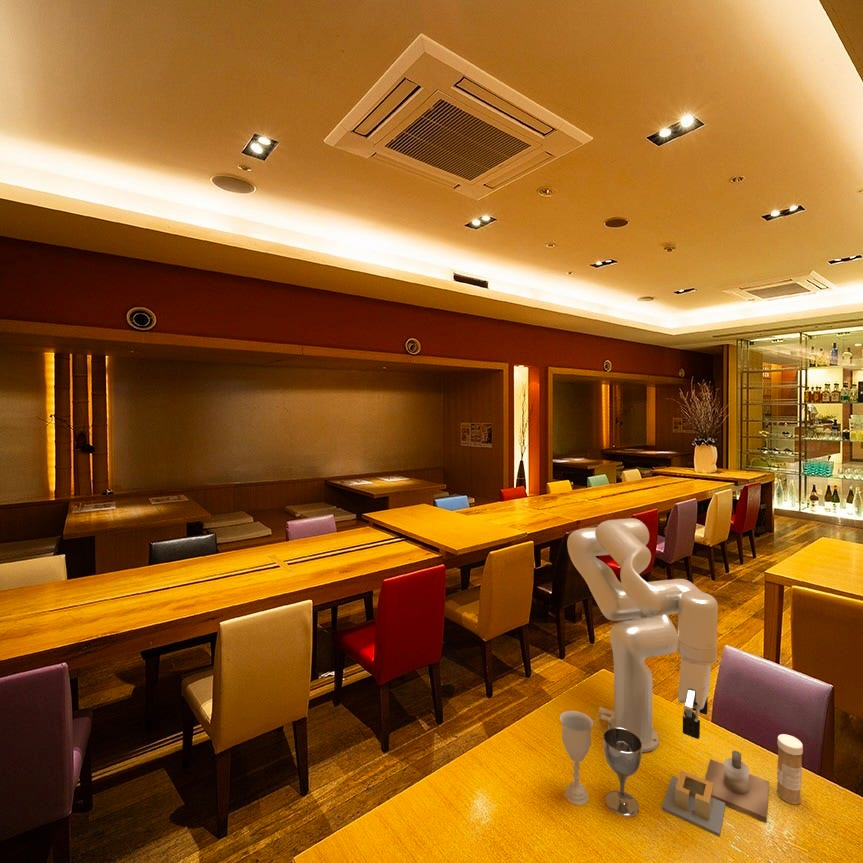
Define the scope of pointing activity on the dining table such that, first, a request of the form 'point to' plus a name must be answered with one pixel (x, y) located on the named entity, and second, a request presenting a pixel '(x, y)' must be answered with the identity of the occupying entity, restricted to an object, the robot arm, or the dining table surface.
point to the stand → (739, 787)
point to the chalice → (576, 750)
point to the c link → (694, 794)
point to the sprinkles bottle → (789, 768)
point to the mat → (715, 816)
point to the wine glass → (622, 767)
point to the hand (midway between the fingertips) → (695, 723)
